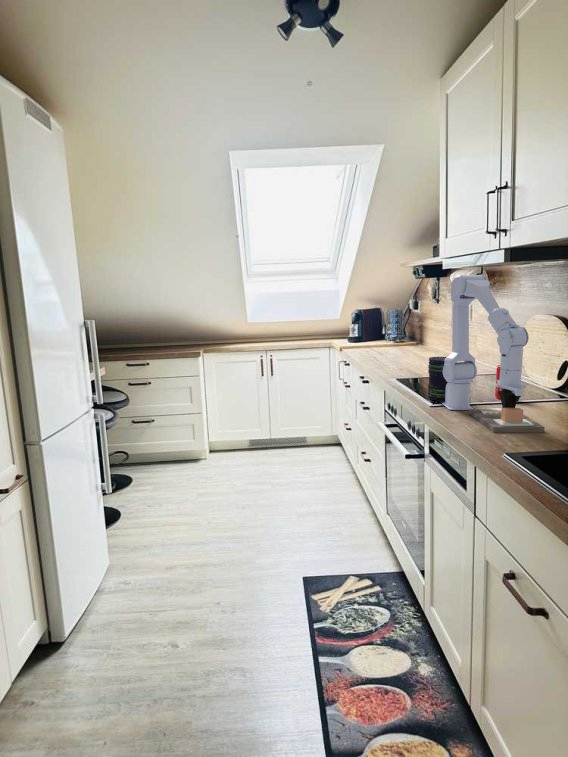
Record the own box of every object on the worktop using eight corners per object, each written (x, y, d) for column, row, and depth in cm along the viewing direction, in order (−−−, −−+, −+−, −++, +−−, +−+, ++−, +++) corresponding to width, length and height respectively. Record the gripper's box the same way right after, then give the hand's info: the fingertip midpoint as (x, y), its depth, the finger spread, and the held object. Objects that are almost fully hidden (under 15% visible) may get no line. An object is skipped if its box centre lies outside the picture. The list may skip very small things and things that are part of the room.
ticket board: (468, 413, 166) (468, 407, 165) (512, 413, 165) (513, 407, 165) (493, 432, 144) (493, 425, 144) (544, 432, 143) (544, 425, 143)
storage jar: (452, 396, 192) (453, 356, 189) (458, 402, 182) (460, 360, 180) (425, 396, 193) (426, 356, 190) (429, 401, 183) (431, 360, 181)
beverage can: (501, 400, 183) (503, 367, 181) (491, 397, 188) (493, 365, 186) (513, 399, 185) (515, 366, 183) (503, 396, 190) (505, 364, 188)
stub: (493, 420, 151) (494, 407, 150) (524, 420, 150) (525, 407, 150) (500, 425, 145) (501, 412, 144) (533, 425, 144) (534, 412, 144)
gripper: (488, 365, 156) (485, 409, 158) (506, 373, 142) (503, 421, 144) (511, 365, 156) (509, 409, 158) (532, 373, 142) (529, 421, 144)
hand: (508, 415), depth 151 cm, fingers closed
